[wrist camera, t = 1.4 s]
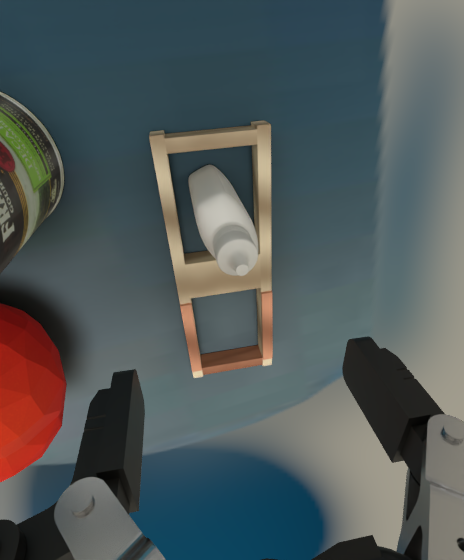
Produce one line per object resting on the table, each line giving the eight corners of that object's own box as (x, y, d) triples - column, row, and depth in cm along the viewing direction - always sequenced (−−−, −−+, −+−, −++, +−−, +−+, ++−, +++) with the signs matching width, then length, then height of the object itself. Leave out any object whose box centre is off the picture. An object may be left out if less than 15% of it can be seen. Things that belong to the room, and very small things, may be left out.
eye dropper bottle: (242, 163, 27) (288, 219, 17) (238, 228, 30) (275, 310, 20) (187, 162, 26) (201, 221, 16) (189, 229, 29) (201, 314, 19)
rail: (150, 131, 25) (148, 137, 23) (263, 120, 26) (271, 124, 24) (192, 364, 38) (193, 380, 36) (267, 351, 38) (272, 366, 37)
